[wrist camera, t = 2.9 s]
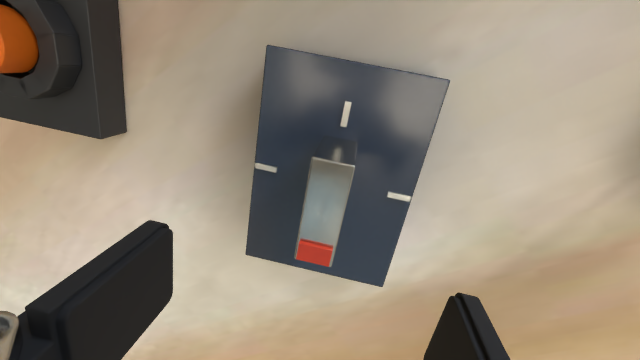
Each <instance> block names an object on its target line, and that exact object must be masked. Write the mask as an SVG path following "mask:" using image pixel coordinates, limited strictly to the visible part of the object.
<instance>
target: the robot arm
mask: <svg viewBox="0 0 640 360" xmlns="http://www.w3.org/2000/svg"><path fill="white" fill-rule="evenodd" d="M172 293H173V232H172V230H171V229H169V226H168V225H167V224H164V223H160V222H156V221H152V220H149V221H147V222H145V223H144V224H142V225H141V226H140V227H138V228H137V229H135V230H134V231H132V232H131V233H130V234H128V235H127V236H125V237H124V238H123V239H121V240H120V241H118V242H117V243H115V244H114V245H113V246H111V247H110V248H108V249H107V250H105V251H104V252H103V253H101V254H100V255H98V256H97V257H95V258H94V259H93V260H91V261H90V262H88V263H87V264H86V265H84V266H83V267H81V268H80V269H78V270H77V271H76V272H74V273H73V274H71V275H70V276H68V277H67V278H66V279H64V280H63V281H61V282H60V283H59V284H57V285H56V286H54V287H53V288H51V289H50V290H49V291H47V292H46V293H44V294H43V295H41V296H40V297H39V298H37V299H36V300H34V301H33V302H32V303H30V304H29V305H27V306H26V307H25V310H26V311H25V312H23V313H22V314H20V315H19V316H18V317H16V315H15V314H13V313H10V312H7V311H0V360H121V359H122V358H123V357H124V355H125V354H126V353H127V352H128V351H129V349H130V348H131V347H132V346H133V345H134V343H135V342H136V341H137V340H138V339H139V337H140V336H141V335H142V334H143V333H144V331H145V330H146V329H147V328H148V327H149V325H150V324H151V323H152V322H153V321H154V319H155V318H156V317H157V316H158V315H159V313H160V312H161V311H162V310H163V309H164V307H165V306H166V305H167V304H168V302H169V301H170V299H171V297H172ZM424 360H510V358H509V356H508V354H507V353H506V351H505V349H504V347H503V345H502V343H501V341H500V339H499V337H498V335H497V333H496V331H495V329H494V327H493V325H492V323H491V321H490V319H489V317H488V315H487V313H486V311H485V309H484V307H483V305H482V303H481V302H480V300H479V298H477V297H475V296H471V295H467V294H462V293H457V294H456V295H455V296H450V297H449V299H448V301H447V304H446V306H445V308H444V311H443V313H442V315H441V317H440V320H439V322H438V324H437V327H436V329H435V331H434V334H433V336H432V338H431V341H430V343H429V345H428V348H427V350H426V352H425V355H424Z"/></svg>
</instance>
